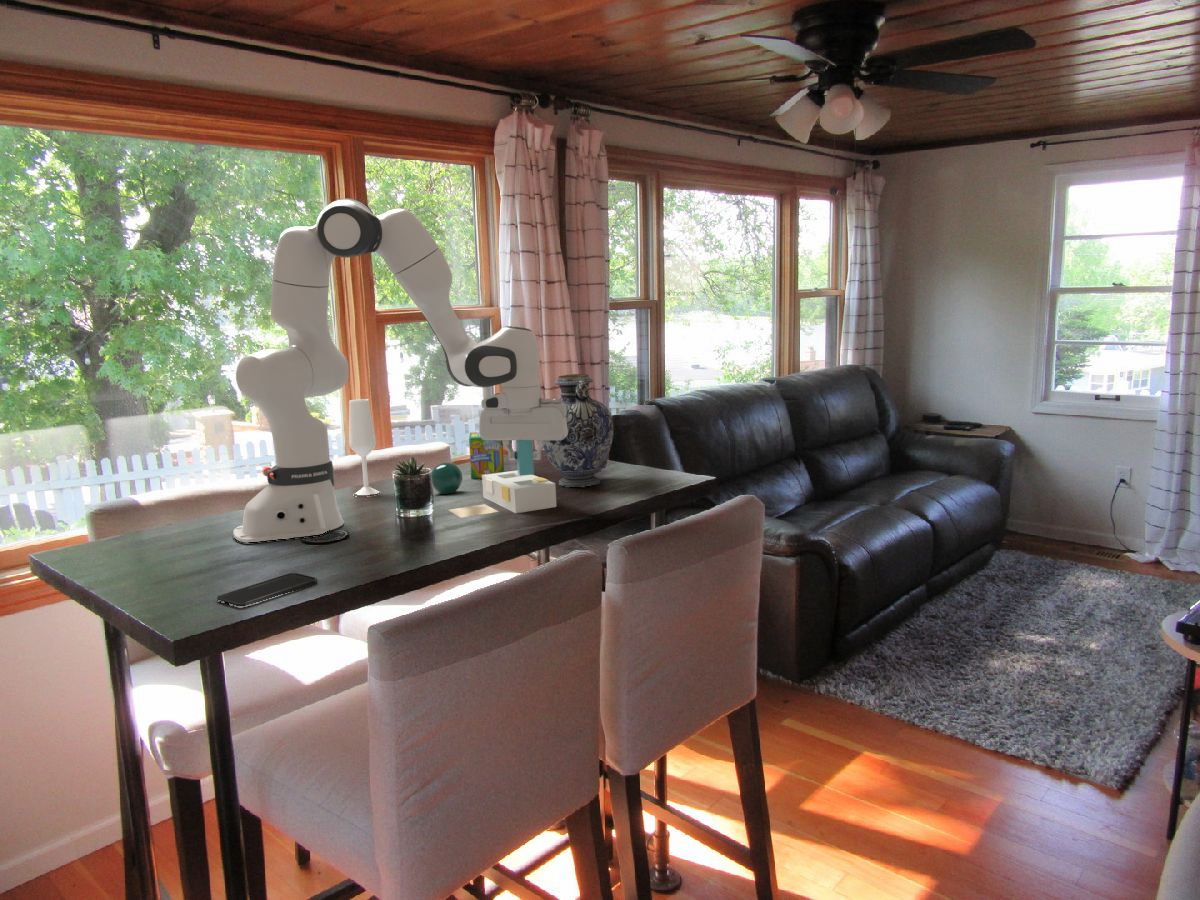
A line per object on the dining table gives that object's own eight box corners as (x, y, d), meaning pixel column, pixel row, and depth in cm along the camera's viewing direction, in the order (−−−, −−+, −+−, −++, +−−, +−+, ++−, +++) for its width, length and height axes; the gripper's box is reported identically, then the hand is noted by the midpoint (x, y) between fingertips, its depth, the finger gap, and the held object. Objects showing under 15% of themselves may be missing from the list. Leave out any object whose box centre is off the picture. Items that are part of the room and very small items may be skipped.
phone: (320, 578, 151) (240, 604, 139) (320, 585, 151) (241, 611, 139) (292, 572, 155) (213, 596, 143) (293, 578, 155) (214, 603, 143)
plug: (520, 475, 196) (518, 438, 195) (517, 473, 199) (515, 436, 198) (534, 474, 197) (532, 436, 196) (531, 472, 200) (529, 435, 199)
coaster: (461, 520, 191) (461, 517, 191) (447, 512, 199) (447, 509, 199) (499, 514, 195) (499, 511, 195) (484, 506, 203) (484, 504, 203)
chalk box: (471, 473, 245) (468, 420, 242) (504, 471, 246) (501, 419, 243) (470, 479, 236) (466, 425, 233) (504, 477, 236) (501, 423, 234)
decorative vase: (625, 487, 217) (620, 375, 212) (552, 495, 212) (545, 381, 208) (604, 472, 237) (598, 370, 233) (537, 479, 233) (530, 375, 228)
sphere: (425, 493, 220) (423, 462, 218) (454, 488, 224) (452, 458, 223) (440, 498, 213) (438, 466, 212) (469, 493, 218) (467, 462, 217)
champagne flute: (376, 496, 219) (368, 401, 215) (349, 497, 219) (341, 402, 215) (383, 490, 225) (376, 398, 221) (357, 491, 226) (349, 399, 221)
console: (514, 515, 193) (513, 488, 192) (482, 499, 210) (480, 474, 209) (556, 509, 198) (555, 482, 197) (521, 493, 215) (520, 468, 214)
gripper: (570, 396, 196) (572, 457, 198) (485, 397, 201) (488, 456, 203) (562, 400, 190) (564, 462, 192) (474, 401, 195) (478, 461, 197)
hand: (525, 459), depth 198 cm, fingers closed on plug, 4 cm apart
